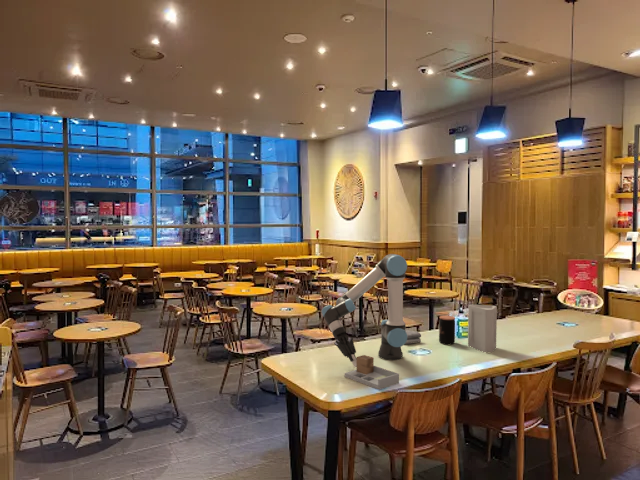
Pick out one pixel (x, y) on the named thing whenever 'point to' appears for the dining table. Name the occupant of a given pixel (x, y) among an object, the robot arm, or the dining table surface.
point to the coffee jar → (447, 329)
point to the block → (365, 364)
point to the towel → (413, 337)
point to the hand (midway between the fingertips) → (356, 365)
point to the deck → (375, 377)
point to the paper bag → (482, 327)
